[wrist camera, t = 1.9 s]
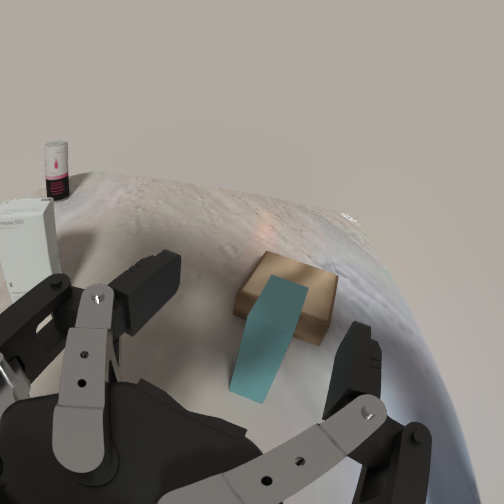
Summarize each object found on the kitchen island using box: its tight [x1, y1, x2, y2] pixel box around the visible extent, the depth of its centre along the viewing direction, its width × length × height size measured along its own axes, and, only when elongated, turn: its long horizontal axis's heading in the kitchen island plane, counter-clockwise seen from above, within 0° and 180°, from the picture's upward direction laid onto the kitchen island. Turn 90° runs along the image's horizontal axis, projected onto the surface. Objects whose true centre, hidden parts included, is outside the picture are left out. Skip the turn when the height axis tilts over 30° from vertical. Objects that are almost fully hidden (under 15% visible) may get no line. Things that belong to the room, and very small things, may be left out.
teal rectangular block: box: [229, 275, 309, 404], centre depth 29 cm, size 4×7×12 cm, turn 160°
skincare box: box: [0, 198, 62, 303], centre depth 29 cm, size 8×6×15 cm
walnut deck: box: [233, 251, 338, 346], centre depth 43 cm, size 13×13×4 cm
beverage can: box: [44, 140, 69, 202], centre depth 58 cm, size 6×6×15 cm
